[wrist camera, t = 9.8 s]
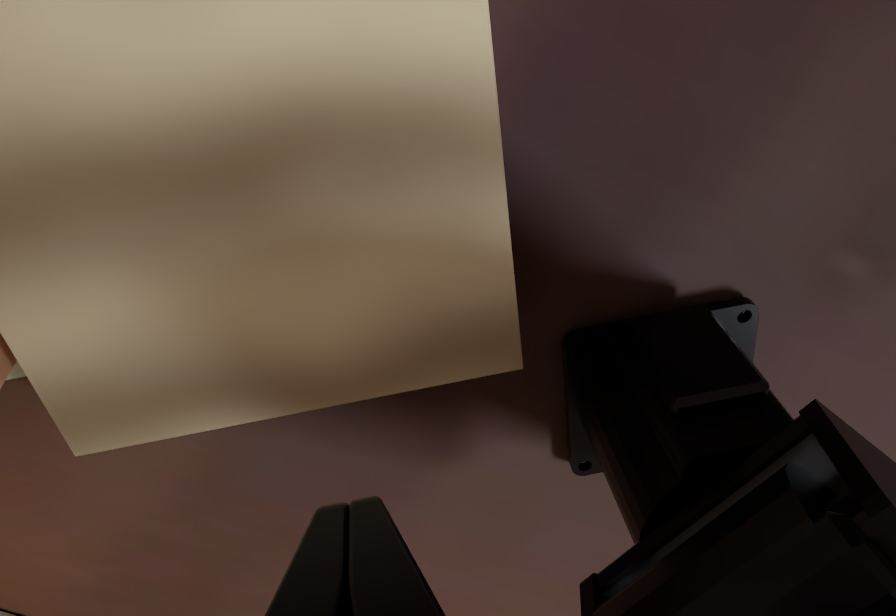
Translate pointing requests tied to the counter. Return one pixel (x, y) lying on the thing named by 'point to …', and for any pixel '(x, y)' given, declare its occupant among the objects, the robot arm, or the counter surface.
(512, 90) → the counter surface
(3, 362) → the tile
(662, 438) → the robot arm
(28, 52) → the board
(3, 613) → the skincare box
